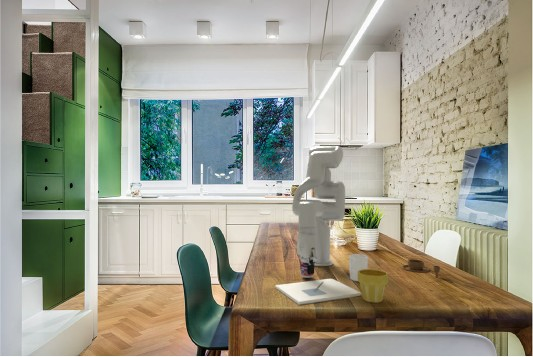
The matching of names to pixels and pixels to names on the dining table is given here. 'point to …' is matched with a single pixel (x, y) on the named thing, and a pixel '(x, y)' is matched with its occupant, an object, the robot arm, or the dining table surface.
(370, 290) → the plant pot
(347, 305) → the dining table surface
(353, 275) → the white cup
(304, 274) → the pill bottle
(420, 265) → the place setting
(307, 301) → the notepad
